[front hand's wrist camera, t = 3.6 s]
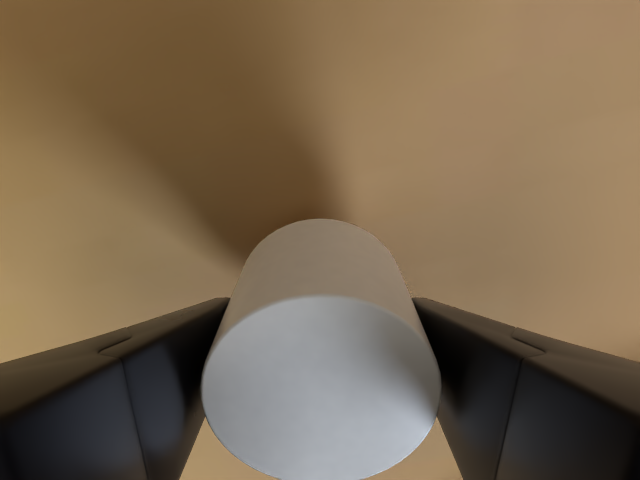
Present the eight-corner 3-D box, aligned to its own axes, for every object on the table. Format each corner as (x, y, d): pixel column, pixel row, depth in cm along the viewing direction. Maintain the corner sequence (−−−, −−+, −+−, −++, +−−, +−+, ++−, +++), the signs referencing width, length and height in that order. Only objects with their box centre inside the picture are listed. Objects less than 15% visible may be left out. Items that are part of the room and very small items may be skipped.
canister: (232, 217, 12) (184, 294, 8) (408, 217, 12) (456, 294, 8) (245, 361, 13) (212, 486, 9) (397, 361, 13) (430, 486, 9)
